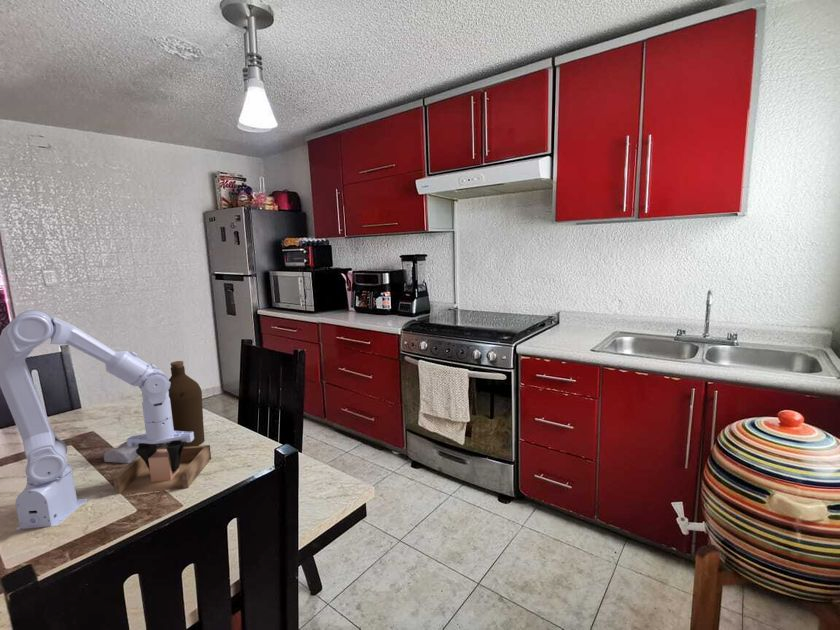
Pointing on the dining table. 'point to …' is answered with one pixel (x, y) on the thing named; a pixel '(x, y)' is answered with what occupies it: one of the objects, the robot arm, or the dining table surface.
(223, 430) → the dining table surface
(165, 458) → the block
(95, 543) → the dining table surface
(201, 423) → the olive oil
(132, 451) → the stone block
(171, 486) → the box
